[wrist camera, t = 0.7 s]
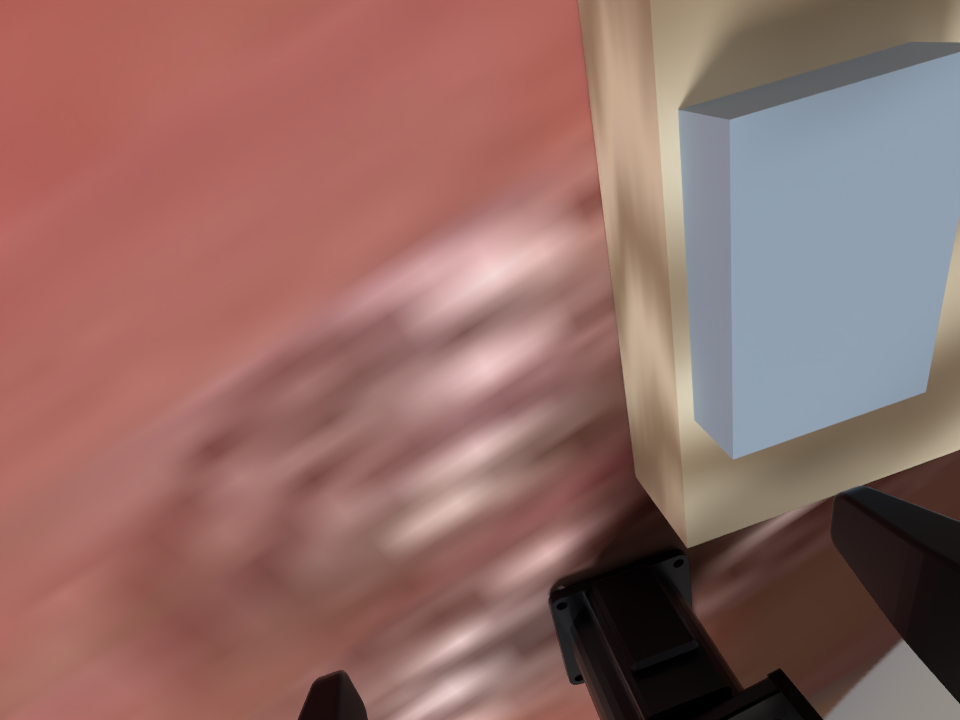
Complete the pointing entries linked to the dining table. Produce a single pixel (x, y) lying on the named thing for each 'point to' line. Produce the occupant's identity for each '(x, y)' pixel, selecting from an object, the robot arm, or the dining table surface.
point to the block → (819, 241)
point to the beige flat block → (662, 259)
